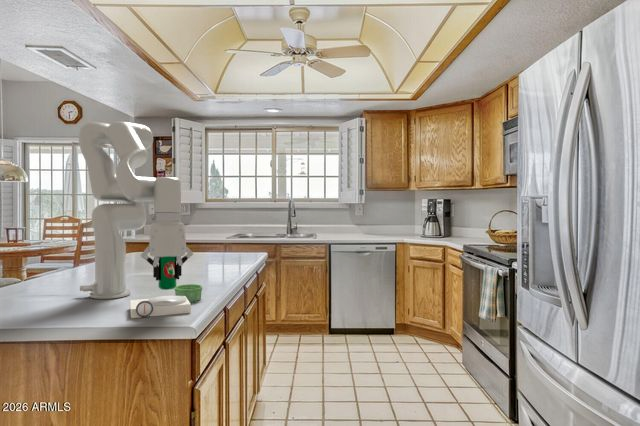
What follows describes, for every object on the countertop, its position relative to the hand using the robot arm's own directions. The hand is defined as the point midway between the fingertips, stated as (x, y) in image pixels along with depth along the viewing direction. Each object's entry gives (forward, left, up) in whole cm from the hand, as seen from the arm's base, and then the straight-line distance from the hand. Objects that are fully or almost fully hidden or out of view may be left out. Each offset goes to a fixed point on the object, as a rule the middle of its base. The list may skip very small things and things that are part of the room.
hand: (167, 278), depth 125 cm
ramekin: (+8, +12, -10) cm, 17 cm away
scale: (-2, 0, -9) cm, 10 cm away
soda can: (0, 0, -3) cm, 3 cm away
